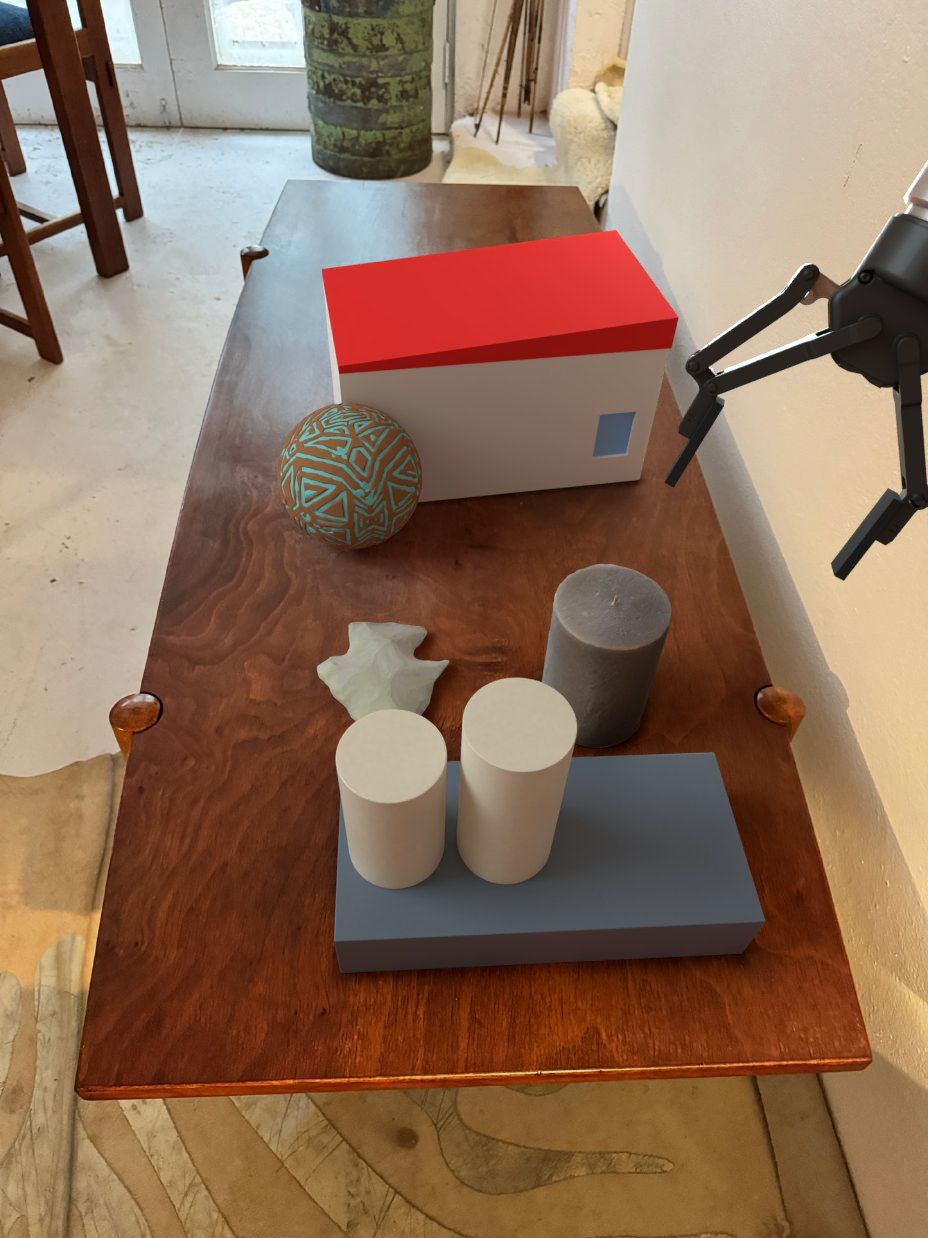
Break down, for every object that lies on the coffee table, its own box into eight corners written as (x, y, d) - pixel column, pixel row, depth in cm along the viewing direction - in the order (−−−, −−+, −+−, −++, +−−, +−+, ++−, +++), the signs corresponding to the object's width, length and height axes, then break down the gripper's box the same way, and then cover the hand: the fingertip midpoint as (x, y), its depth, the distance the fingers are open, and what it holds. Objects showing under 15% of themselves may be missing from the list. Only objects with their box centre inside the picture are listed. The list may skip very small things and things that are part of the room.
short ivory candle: (464, 846, 62) (470, 757, 53) (391, 909, 59) (384, 824, 50) (402, 785, 65) (397, 691, 56) (329, 841, 62) (312, 750, 53)
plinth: (697, 790, 73) (714, 752, 68) (742, 954, 63) (766, 921, 59) (347, 803, 71) (341, 764, 66) (340, 973, 62) (333, 941, 57)
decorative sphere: (306, 593, 87) (288, 477, 76) (272, 504, 96) (252, 389, 85) (442, 558, 91) (443, 444, 80) (397, 476, 100) (393, 363, 89)
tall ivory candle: (570, 842, 63) (601, 725, 51) (504, 904, 59) (521, 793, 48) (503, 781, 66) (518, 659, 55) (437, 837, 62) (438, 719, 51)
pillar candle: (656, 740, 76) (695, 631, 65) (552, 756, 75) (573, 646, 64) (623, 658, 82) (653, 545, 71) (526, 671, 81) (541, 558, 70)
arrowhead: (318, 625, 83) (312, 758, 73) (319, 602, 80) (314, 736, 70) (443, 632, 85) (454, 761, 75) (448, 609, 82) (460, 740, 73)
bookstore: (642, 479, 101) (681, 317, 86) (351, 509, 96) (336, 341, 81) (592, 384, 115) (618, 229, 99) (334, 405, 110) (319, 245, 94)
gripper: (1118, 326, 53) (899, 592, 64) (768, 146, 55) (609, 433, 65) (1171, 338, 47) (917, 632, 57) (772, 133, 49) (594, 454, 59)
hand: (752, 526), depth 61 cm, fingers open, 13 cm apart
